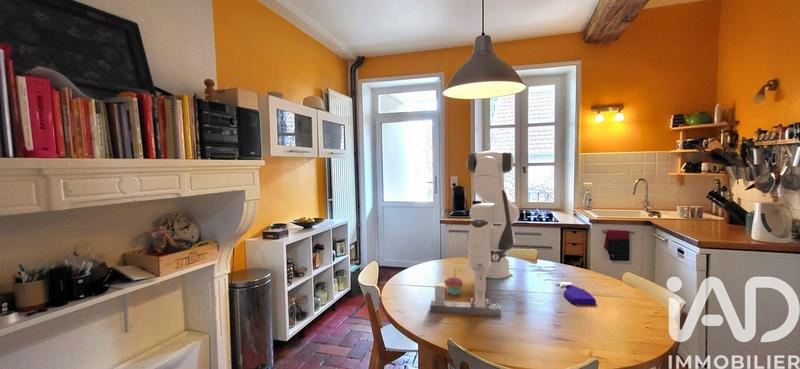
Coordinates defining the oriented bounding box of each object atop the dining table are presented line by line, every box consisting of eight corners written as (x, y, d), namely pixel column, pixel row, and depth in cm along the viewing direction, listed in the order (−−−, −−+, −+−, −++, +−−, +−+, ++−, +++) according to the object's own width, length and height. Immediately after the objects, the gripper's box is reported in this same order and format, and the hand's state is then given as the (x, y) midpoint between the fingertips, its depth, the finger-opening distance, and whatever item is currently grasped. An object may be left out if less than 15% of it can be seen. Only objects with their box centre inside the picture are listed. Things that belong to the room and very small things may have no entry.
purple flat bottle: (598, 299, 142) (575, 280, 166) (571, 298, 143) (552, 279, 167) (598, 306, 142) (575, 286, 166) (571, 305, 143) (552, 285, 168)
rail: (431, 307, 144) (431, 282, 143) (499, 311, 139) (499, 284, 138) (430, 312, 139) (429, 286, 138) (501, 316, 134) (500, 289, 133)
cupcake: (449, 288, 165) (448, 264, 164) (465, 291, 161) (465, 266, 160) (442, 294, 158) (441, 269, 157) (459, 297, 153) (458, 271, 153)
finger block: (472, 302, 140) (472, 284, 140) (484, 303, 139) (484, 284, 139) (472, 307, 136) (472, 287, 136) (485, 307, 135) (485, 288, 135)
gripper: (489, 269, 126) (489, 305, 126) (485, 254, 146) (486, 285, 146) (472, 268, 127) (472, 304, 128) (471, 254, 147) (471, 285, 148)
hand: (479, 294), depth 137 cm, fingers open, 8 cm apart
